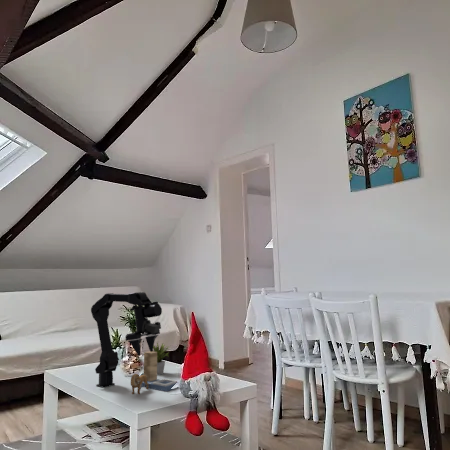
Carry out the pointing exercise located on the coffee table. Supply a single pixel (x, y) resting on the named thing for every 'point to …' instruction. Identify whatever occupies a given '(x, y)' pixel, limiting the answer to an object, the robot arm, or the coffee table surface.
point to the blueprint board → (158, 387)
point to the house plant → (159, 360)
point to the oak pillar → (150, 365)
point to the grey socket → (163, 381)
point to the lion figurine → (138, 382)
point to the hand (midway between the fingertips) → (145, 353)
